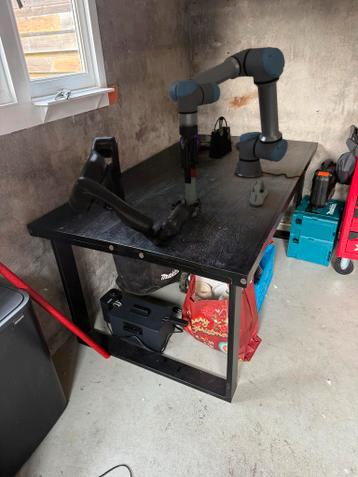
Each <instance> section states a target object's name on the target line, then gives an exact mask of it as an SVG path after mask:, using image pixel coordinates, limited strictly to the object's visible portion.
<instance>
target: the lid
mask: <svg viewBox="0 0 358 477" xmlns="http://www.w3.org/2000/svg"><path fill="white" fill-rule="evenodd" d="M195 176H196V177H197V168H196V169H191V178H192V177H195Z"/></svg>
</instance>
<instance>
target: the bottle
mask: <svg viewBox="0 0 358 477" xmlns="http://www.w3.org/2000/svg"><path fill="white" fill-rule="evenodd" d="M196 180H197V176H196V177H192V178H191V184H186V183H185V182H184V186H185V187H184V188H185V190H184V191H185V198H186V203H187V204H190V203H192V202H195V201H196V199H197V181H196ZM197 212H198V211H195V212H194V213H193V214H192V216H191V218H193V217H196V216H197V215H198V213H197Z"/></svg>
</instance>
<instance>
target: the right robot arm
mask: <svg viewBox="0 0 358 477" xmlns="http://www.w3.org/2000/svg"><path fill="white" fill-rule="evenodd" d="M285 65H286V61H285V56H284V53H283V51H282V50H281V49H280V48H278V47H272V46H264V47H251V48H250V47H249V48H245V49H242V50H240V51H238V52H235V53H233V54H232V55H230V56H227V57H226V58H225V59H224V60H223V62H220V63H219V64H217V65H214V66H213V67H211V68H209V69H207V70H205V71H202V72H200V73H199V74H197V75H195V76H192V77H191V78H188V79H185V80H179V81H177V82H173V83H172V84H171V85H170V87H169V97H170V99H171V100H172V101H173V102H177V118H178V124H179V125H178V134H179V136H180V137H181V136H183V144H179V150H180V166H181V169H182V170H183V174H184V175H183V176H184V184H185V183H186V184H191V169H196V170H197V165H198V164H199V161H198V160H199V153H198V152H199V151H198V150H199V149H197V140H198V137H195V135H197V134H198V135H199V124H198V123H199V112H198V111H199V110H198V109H199V108H198V107H200V106H201V107H202V106H205V105H212V104H214V103H216V102H218V101H219V100H220V97H221V88H220V86H219V85H221V84H222V83H225V82H226V81H229V80H235V79H237V78H242V77H243V78H244V77H245V78H246V77H247V78H252V80H253V81H252V82H253V85H254V86H256V87H257V97H258V98H257V99H258V109H259V121H260V131H250V132H244V133H242V134H240V136H239V141H238V142H239V150H238V162H237V163H236V167H235V170H234V174H235V176H236V177H239V178H243V179H255V178H259V177H261V176H262V175H269V176H274V177H280V176H284V177H285V179H294V178H300V179H304V177H303V176H302V175H300V174H299V175H298V174H297V175H293V176H288V175H287V173H283V172H282V173H277V174H276V173H272V172H266V171H263V169H262V165H261V160H265V161H269V162H275V163H277V162H280V161H281V160H282V159H284V157H285V156H286V154H287V151H288V146H289V143H288V141H287V139H285V138H283V132H282V131H280V126H279V125H280V124H279V123H280V122H279V106H278V86H277V83H278V82H279V80H280V77H281V76H282V74H283V73H284V72H285V67H286V66H285ZM187 149H188V150H187ZM190 163H191V164H190ZM195 177H196V178H197V175H196V176H195Z"/></svg>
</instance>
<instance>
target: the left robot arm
mask: <svg viewBox="0 0 358 477" xmlns="http://www.w3.org/2000/svg"><path fill="white" fill-rule="evenodd" d="M118 143H119V142H118V140H117V137H115V136H112V135H109V136H97V137H95V138H94V139H93V140H92V143H91V146H90V149H89V153H88V156H87V158H86V160H85V161H84V164H82V168H81V171H80V175H79V177H78V178H76V180H75V181H74V184H73V186H72V188H71V189H70V193H69V195H68V205H69V206H70V208H71V209H72V210H73V211H74V212H76V213H77V214H88V213H90V212H92V211H93V210H94V209H95V207H96V205H97V204H98V202H99V201H102V202H103V204H104V208H105V209H106V210H109V211H113V212H114V213H115V215H116V216H117V219H119V220H120V222H121V223H122V224H123V225H124V226H125V227H127V228H129V229H131V230H133V231H134V232H137V233H139V234H140V235H142V236H143V237H145V239H147V241H149V242H150V243H151V244H152V245H153V246H155V247H156V248H158V249H162V250H166V249H168V248H169V247H170V246H171V245H172V244H173V242H174V241H175V240H176V239H177V237H178V236H179V235H180V233H181V232H182V230H183V228H184V227H185V226H186V225H187V224H188V222H189V221H190V220H191V218H192V217H191V216H192V214H193V213H194V212H195V211H197V212H198V213H199V214H202V213H203V206H202V205H203V202H202V201H201V199H200V197H196V201H195V202H192V203H190V204H187V203H186V197H184V198H183V199H181V200H180V199H177V200H175V201H174V202H172V203H171V204H170V208H171V212H170V213H169V215H168V216H167V218H166V219H165V220H164V221H163V222H162V224H161V225H160V226H159V227H158V229H157V230H155V229H154V225H155V218H153V217H152V216H151V215H148V214H146V213H145V212H143V211H141V210H139V209H137V208H135V207H133V206H132V205H130V204H128V203H127V202H126V196H127V195H126V194H125V188H124V183H123V177H122V176H123V174H122V169H121V161H120V153H119V152H120V151H119V144H118ZM107 159H111V161H109V162H108V161H107Z"/></svg>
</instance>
